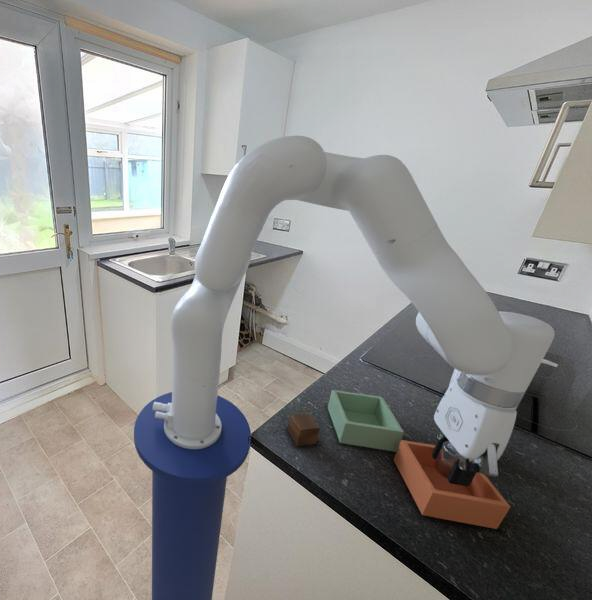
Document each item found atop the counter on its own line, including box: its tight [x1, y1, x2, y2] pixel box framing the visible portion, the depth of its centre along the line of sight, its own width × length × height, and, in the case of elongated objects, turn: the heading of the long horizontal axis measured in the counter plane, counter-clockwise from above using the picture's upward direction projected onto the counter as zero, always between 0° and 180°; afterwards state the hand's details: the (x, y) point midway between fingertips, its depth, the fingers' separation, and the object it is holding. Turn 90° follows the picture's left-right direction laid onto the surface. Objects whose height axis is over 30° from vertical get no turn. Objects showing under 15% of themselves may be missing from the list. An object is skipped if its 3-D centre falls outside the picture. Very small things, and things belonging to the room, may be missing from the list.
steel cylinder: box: [434, 441, 474, 479], centre depth 56 cm, size 4×4×5 cm
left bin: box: [327, 389, 405, 453], centre depth 72 cm, size 12×12×6 cm
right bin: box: [393, 439, 511, 530], centre depth 57 cm, size 12×12×6 cm
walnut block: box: [287, 412, 321, 447], centre depth 68 cm, size 4×4×4 cm
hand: (449, 469), depth 56 cm, fingers closed on steel cylinder, 4 cm apart
